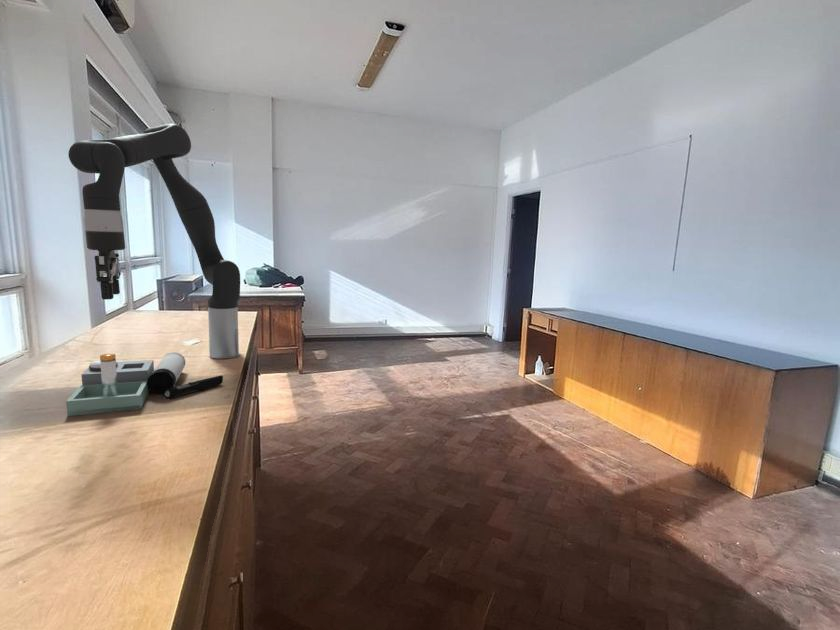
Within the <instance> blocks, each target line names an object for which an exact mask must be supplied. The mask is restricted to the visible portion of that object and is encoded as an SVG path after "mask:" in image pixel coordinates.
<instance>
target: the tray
mask: <svg viewBox="0 0 840 630" xmlns="http://www.w3.org/2000/svg"><path fill="white" fill-rule="evenodd" d="M117 389H118V396H107V397H103V395H102V384H94V385H82V384H81V385H80V386H79V387H78V388H77V389H76V390H75V391H74V392H73V394H72V395H71V396H70V397H68V398H67V400H65V402H66V405H65V406H66V415H67V417H71V416H72V417H73V416H82V415H93V414H94V415H95V414H103V413H114V412H125V411H137V410H142V408H143V406H144V404H145V401H146V399H147V397H148V395H149V392H148V386H147V381H136V382H122V383H117Z"/></svg>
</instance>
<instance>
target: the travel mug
mask: <svg viewBox="0 0 840 630" xmlns="http://www.w3.org/2000/svg"><path fill="white" fill-rule="evenodd" d="M185 366H186V359H185V357H184V356H183V355H182V354H181V353H180V352H179V353H178V352H170V353H167V354H165V355H164V356H163V358H162V359H161V361H160V362H159V363H158V364H157V366H155V367H154V371H153V372H152V374H151V375H150V377H149V378H148V380H147V386H148V388H149V389H150V391H152V392H153V393H155V394H160V395H161V394H162V395H163V394H164V392H165V390H166V389H167V388H170V387H171V386H176V383H177V381H178V379H179V378H180V375H181V374H182V373H183V370H184V368H185Z"/></svg>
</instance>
